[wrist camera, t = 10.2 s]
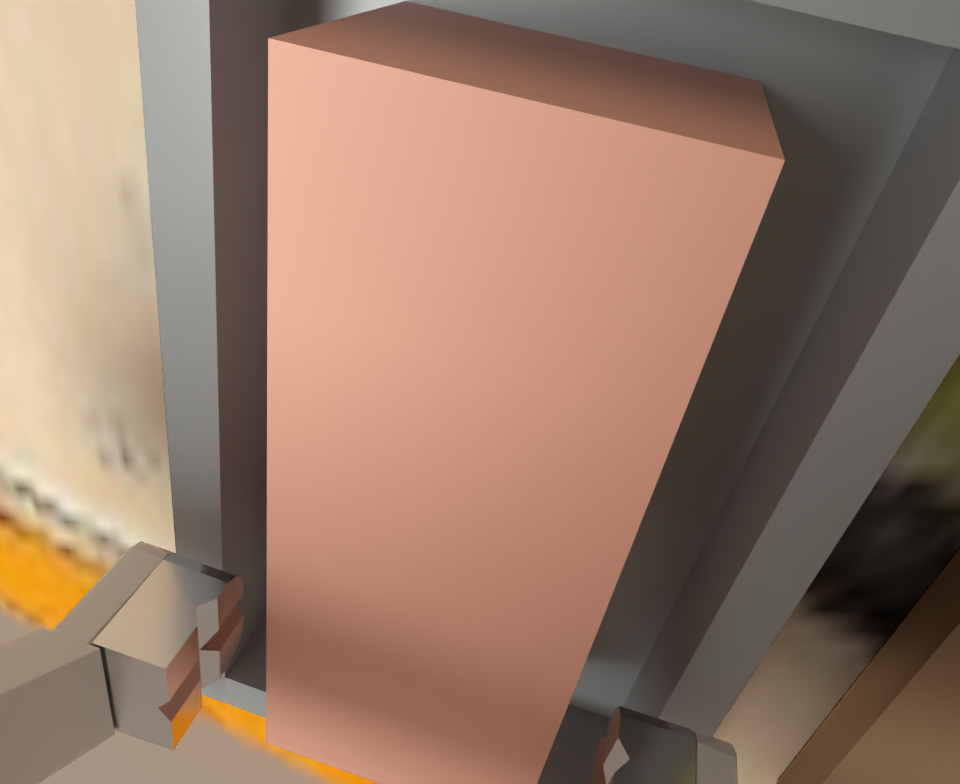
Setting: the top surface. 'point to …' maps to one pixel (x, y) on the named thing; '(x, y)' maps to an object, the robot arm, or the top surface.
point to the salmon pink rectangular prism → (477, 366)
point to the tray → (729, 364)
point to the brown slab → (898, 705)
